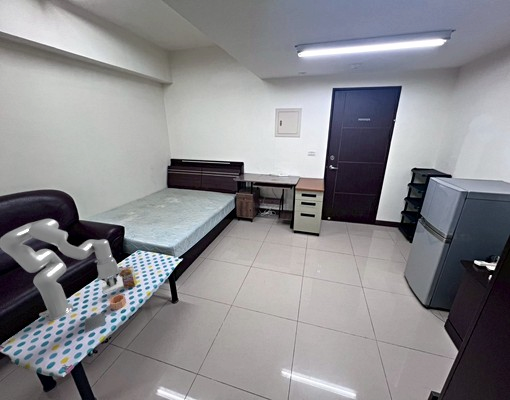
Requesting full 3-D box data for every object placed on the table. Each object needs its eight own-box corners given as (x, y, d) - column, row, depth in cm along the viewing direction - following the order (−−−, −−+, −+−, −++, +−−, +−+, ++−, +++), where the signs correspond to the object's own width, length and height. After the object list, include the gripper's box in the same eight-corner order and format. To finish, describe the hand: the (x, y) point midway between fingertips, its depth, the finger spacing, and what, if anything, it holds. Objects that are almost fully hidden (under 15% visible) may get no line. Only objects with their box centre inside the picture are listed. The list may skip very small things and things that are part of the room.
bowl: (111, 312, 138) (110, 306, 136) (110, 304, 144) (108, 298, 143) (127, 305, 143) (125, 299, 141) (125, 298, 149) (123, 292, 148)
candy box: (122, 288, 159) (117, 270, 154) (125, 284, 163) (120, 267, 158) (135, 286, 160) (131, 269, 155) (137, 283, 164) (133, 265, 160)
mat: (85, 334, 123) (84, 333, 123) (85, 320, 133) (85, 319, 133) (105, 324, 129) (105, 323, 129) (104, 312, 138) (104, 311, 138)
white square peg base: (103, 294, 131) (100, 286, 129) (102, 284, 140) (99, 277, 138) (123, 286, 137) (121, 278, 135) (121, 277, 146) (119, 270, 144)
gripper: (88, 267, 125) (97, 293, 131) (121, 257, 134) (127, 281, 140) (88, 261, 131) (96, 286, 136) (119, 252, 140) (126, 275, 145)
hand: (112, 283), depth 138 cm, fingers closed on white square peg base, 3 cm apart
